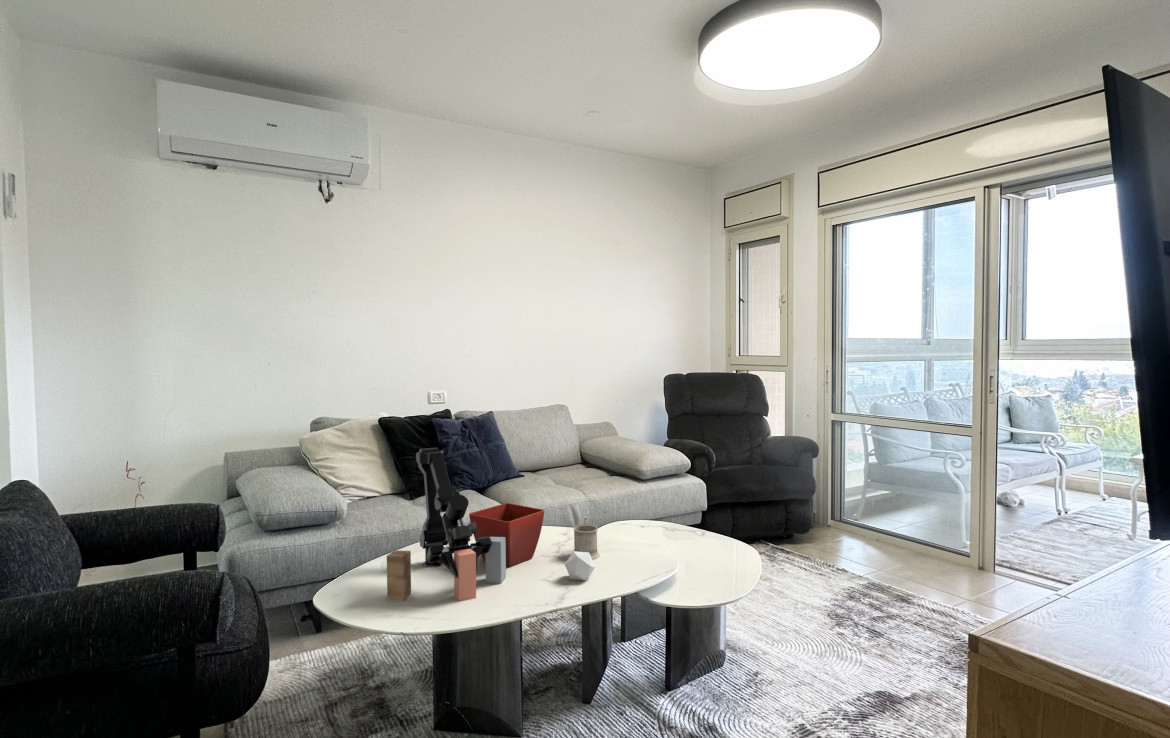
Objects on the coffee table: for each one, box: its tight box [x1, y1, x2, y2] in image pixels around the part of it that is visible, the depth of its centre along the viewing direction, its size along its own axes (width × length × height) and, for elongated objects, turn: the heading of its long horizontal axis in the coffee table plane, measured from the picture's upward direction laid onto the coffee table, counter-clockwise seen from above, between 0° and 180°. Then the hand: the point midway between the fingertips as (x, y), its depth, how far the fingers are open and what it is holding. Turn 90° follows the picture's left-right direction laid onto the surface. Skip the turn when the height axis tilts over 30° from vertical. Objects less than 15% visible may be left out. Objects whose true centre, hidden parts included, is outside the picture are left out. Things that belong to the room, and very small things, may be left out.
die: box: [564, 550, 596, 582], centre depth 191 cm, size 8×9×10 cm
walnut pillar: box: [386, 549, 412, 602], centre depth 177 cm, size 5×5×13 cm
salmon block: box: [453, 549, 477, 602], centre depth 177 cm, size 5×5×13 cm
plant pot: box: [468, 502, 545, 568], centre depth 210 cm, size 19×19×17 cm
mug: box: [573, 516, 601, 561], centre depth 216 cm, size 14×10×12 cm
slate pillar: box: [484, 537, 507, 585], centre depth 190 cm, size 5×5×13 cm
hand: (466, 575), depth 175 cm, fingers closed on salmon block, 5 cm apart
